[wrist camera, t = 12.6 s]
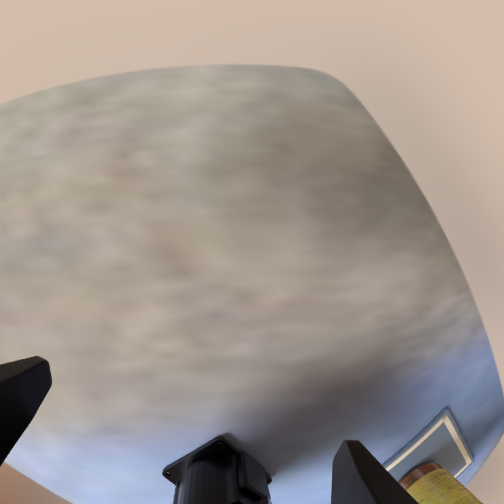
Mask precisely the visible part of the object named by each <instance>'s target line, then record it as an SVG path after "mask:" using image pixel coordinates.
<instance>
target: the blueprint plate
mask: <svg viewBox="0 0 504 504" xmlns="http://www.w3.org/2000/svg"><path fill="white" fill-rule="evenodd" d="M432 462H434V463H437V464H439V465H441V467H442V468H443V469H446V470H447V471H448V472H449V473H450V474H451V475H453V476H454V477H455V478H457V477H458V476H459V475H460V474H462V473H463V472H464V471H465V470H466V469H467V468H468V467H469V466H470V465H471V464H472V463H473V462H474V459H473V457H472V455H471V453H470V451H469V448H468V446H467V444H466V442H465V440H464V438H463V437H462V435H461V433H460V431H459V429H458V427H457V425H456V423H455V421H454V419H453V417H452V415H451V414H450V412H449V410H448V409H447V408H446V407H445V408H444V409H443V410H442V412H441V413H440V414H439V415H438V416H437V417H436V418H435V419H434V420H433V421H432V422H430V423H429V424H428V425H427V426H426V427H425V428H424V429H423V430H422V431H421V432H420V433H419V434H418V435H417V436H416V437H414V438H413V439H412V440H411V441H410V442H409V443H408V444H407V445H405V446H404V447H403V448H402V449H401V450H400V451H398V452H397V453H396V454H395V455H394V456H392V457H391V458H390V459H389V460H387V461H386V462H385V463H384V464H382V466H383V467H384V468H385V469H386V470H387V471H388V472H389V473H390V474H391V475H392V476H393V477H394V478H395V479H396V480H397V481H398V483H399V482H400V480H401V479H402V478H404V477H405V476H406V475H407V474H408V473H410V472H411V471H412V470H414V469H415V468H416V467H418V466H421V465H422V464H425V463H432Z"/></svg>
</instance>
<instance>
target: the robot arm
mask: <svg viewBox="0 0 504 504" xmlns="http://www.w3.org/2000/svg"><path fill="white" fill-rule="evenodd" d="M51 385H52V377H51V372H50V365H49V362H48V361H47V360H46V359H44V358H42V357H40V356H34V357H30V358H26V359H22V360H18V361H13V362H9V363H5V364H1V365H0V466H1V465H2V463H3V462H4V460H5V459H6V457H7V456H8V454H9V453H10V451H11V450H12V448H13V447H14V445H15V444H16V442H17V441H18V440H19V438H20V437H21V435H22V434H23V432H24V431H25V430H26V428H27V427H28V425H29V424H30V422H31V421H32V419H33V418H34V416H35V414H36V412H37V410H38V409H39V407H40V405H41V403H42V402H43V400H44V398H45V396H46V395H47V393H48V391H49V389H50V388H51ZM219 442H221V443H223V444H221V445H220V444H217V443H219ZM167 472H169V473H171V474H168V473H167ZM162 474H163V476H164V477H165V478H167V479H168V480H169V481H170V482H172V483H173V484H174V485H176V488H175V494H174V501H173V504H272V503H271V501H270V499H271V498H270V493H269V489H268V484H270V483H271V481H272V479H271V476H270V475H269V474H268V473H266V472H265V471H264V468H263V467H262V466H261V465H260V464H258V463H257V462H256V461H255V460H253V459H252V458H251V457H250V456H249V455H247V454H246V453H245V452H242V451H239V450H238V449H236V448H235V447H234V446H233V445H232V444H231V443H229V442H228V441H227V440H226V439H225V438H223V437H217V438H215V439H213V440H212V441H210V442H209V443H207V444H205V445H204V446H202V447H200V448H199V449H197V450H195V451H194V452H192V453H190V454H189V455H187V456H185V457H183V458H182V459H180V460H178V461H176V462H175V463H173V464H171V465H169V466H167V467H166V468H164V469H163V473H162ZM266 479H267V480H266ZM331 504H419V503H418V502H417V501H416V500H415V499H414V498H413V497H412V496H411V495H410V494H409V493H408V492H407V491H406V490H405V489H404V488H403V487H402V486H401V485H400V484H399V483H398V481H397V480H396V479H395V478H394V477H393V476H392V475H391V474H390V473H389V472H388V471H387V470H386V469H385V468H384V467H383V466H382V465H381V464H380V463H379V461H378V460H377V459H376V458H375V457H374V456H373V455H372V454H371V453H370V452H369V451H368V450H367V449H366V448H365V446H364V445H363V444H362V443H361V442H360V441H358V440H345V441H343V443H342V445H341V446H340V448H339V450H338V451H337V453H336V455H335V456H334V459H333V468H332V494H331Z"/></svg>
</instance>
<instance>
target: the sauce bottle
mask: <svg viewBox="0 0 504 504" xmlns="http://www.w3.org/2000/svg"><path fill="white" fill-rule="evenodd" d="M399 484H400V485H401V486H402V487H403V488H404V489H405V490H406V491H407V492H408V493H409V494H410V495H411V496H412V497H413V498H414V499H415V500H416V501H417V502H418V503H419V504H483V503H482V502H480V501H479V500H478V499H477V498H476V497H475V496H474V495H473V494H472V493H471V492H470V491H469V490H467V489H466V488H465V487H464V486H463V485H462V484H461V483H460V482H459V481H458V480H457V479H456V478H455V477H454V476H453V475H451V474H450V473H449V472H448V471H447V470H446V469H443V468H442V467H441V465H439V464H437V463H434V462H432V463H425V464H422V465H421V466H418V467H416V468H415V469H414V470H412V471H411V472H410V473H408V474H407V475H406V476H405V477H404V478H402V479H401V480H400V482H399Z"/></svg>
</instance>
